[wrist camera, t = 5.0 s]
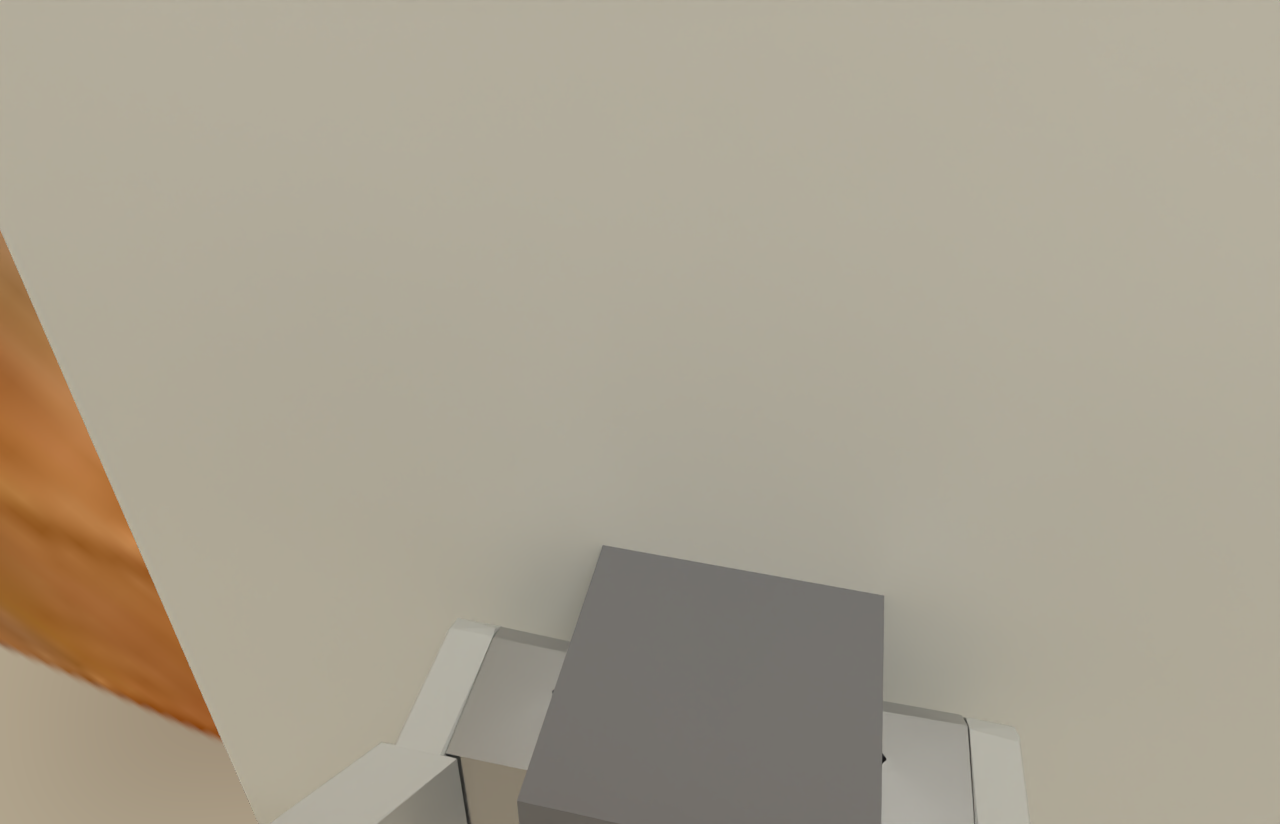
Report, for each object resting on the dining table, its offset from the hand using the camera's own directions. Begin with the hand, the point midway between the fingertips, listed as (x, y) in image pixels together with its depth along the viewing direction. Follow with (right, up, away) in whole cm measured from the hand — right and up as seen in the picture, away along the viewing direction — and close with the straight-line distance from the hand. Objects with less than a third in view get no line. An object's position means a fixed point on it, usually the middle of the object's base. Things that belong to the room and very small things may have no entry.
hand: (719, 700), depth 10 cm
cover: (+2, +5, +7) cm, 9 cm away
